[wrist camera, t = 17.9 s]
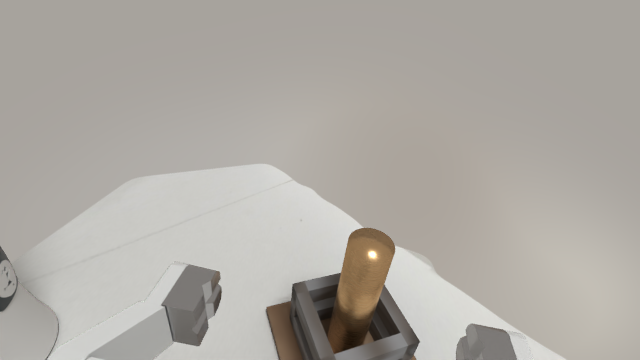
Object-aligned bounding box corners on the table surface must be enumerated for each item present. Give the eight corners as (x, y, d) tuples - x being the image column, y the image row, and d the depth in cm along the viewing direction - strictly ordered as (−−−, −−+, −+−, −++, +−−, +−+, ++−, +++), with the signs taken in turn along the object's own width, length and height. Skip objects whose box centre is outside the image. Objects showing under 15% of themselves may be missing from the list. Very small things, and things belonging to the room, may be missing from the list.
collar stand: (302, 445, 34) (309, 410, 30) (266, 311, 46) (267, 272, 42) (431, 392, 40) (453, 356, 35) (368, 285, 52) (379, 248, 47)
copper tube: (334, 368, 40) (361, 267, 30) (320, 333, 43) (340, 232, 33) (367, 356, 42) (404, 257, 31) (352, 324, 45) (380, 224, 35)
